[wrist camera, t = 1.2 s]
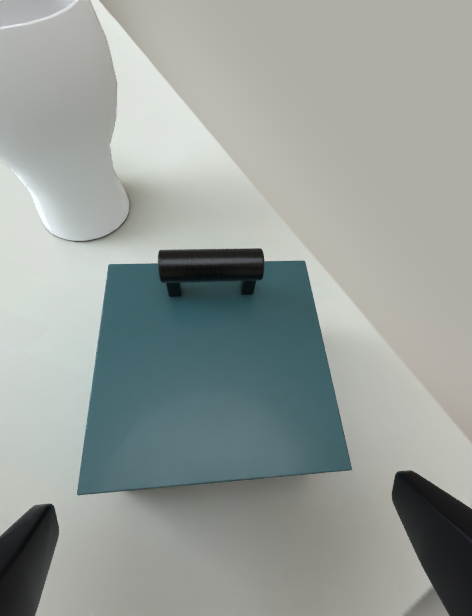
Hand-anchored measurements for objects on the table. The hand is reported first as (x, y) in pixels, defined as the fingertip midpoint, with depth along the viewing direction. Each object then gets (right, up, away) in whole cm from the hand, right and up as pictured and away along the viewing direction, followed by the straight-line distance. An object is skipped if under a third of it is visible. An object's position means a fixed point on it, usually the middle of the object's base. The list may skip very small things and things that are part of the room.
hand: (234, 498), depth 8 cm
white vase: (-14, +14, +21) cm, 29 cm away
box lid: (-1, +2, +8) cm, 9 cm away
